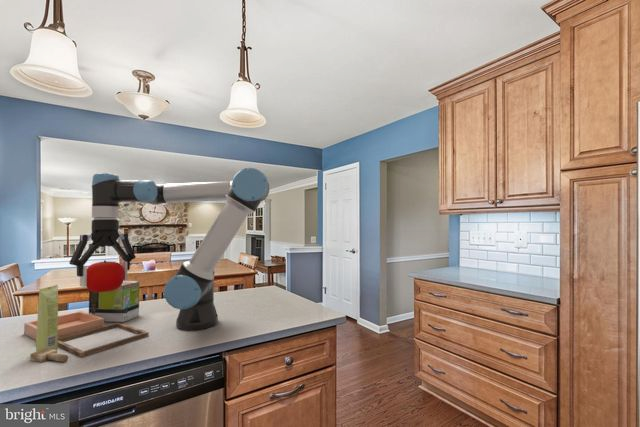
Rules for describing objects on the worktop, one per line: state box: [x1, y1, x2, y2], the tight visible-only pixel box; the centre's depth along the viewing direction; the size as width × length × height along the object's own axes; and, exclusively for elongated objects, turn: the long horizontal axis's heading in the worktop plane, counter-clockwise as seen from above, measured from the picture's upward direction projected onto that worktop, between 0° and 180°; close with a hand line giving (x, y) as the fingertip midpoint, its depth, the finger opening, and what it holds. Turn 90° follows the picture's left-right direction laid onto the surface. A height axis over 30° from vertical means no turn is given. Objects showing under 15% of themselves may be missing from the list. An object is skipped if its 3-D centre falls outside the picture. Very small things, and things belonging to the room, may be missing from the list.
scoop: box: [29, 348, 69, 363], centre depth 88 cm, size 10×4×2 cm, turn 75°
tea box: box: [88, 280, 140, 323], centre depth 126 cm, size 15×10×15 cm, turn 84°
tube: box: [35, 284, 59, 352], centre depth 94 cm, size 6×5×20 cm
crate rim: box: [57, 322, 149, 358], centre depth 103 cm, size 20×20×1 cm
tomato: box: [86, 259, 125, 292], centre depth 103 cm, size 11×12×10 cm
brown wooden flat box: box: [23, 311, 105, 341], centre depth 110 cm, size 18×17×4 cm
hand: (104, 283), depth 103 cm, fingers closed on tomato, 12 cm apart
